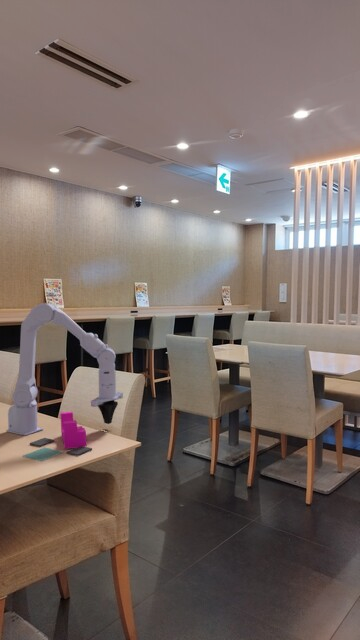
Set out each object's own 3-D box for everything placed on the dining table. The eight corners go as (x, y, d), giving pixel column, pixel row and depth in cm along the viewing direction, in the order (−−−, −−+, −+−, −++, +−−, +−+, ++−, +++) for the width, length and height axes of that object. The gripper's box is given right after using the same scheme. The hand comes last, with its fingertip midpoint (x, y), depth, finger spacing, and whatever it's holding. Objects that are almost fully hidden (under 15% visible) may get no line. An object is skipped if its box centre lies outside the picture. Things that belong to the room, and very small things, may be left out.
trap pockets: (29, 444, 141) (29, 443, 141) (44, 439, 146) (44, 437, 146) (77, 456, 131) (77, 454, 131) (92, 449, 136) (92, 448, 136)
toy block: (86, 446, 138) (85, 421, 138) (65, 448, 136) (63, 423, 136) (81, 433, 152) (79, 410, 152) (61, 435, 150) (60, 412, 150)
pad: (21, 456, 131) (21, 456, 131) (44, 447, 139) (44, 447, 139) (41, 461, 127) (41, 461, 127) (63, 452, 134) (63, 451, 134)
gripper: (102, 388, 148) (102, 430, 149) (129, 381, 161) (130, 419, 162) (85, 386, 152) (86, 427, 153) (113, 379, 164) (114, 416, 165)
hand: (107, 423), depth 157 cm, fingers closed
